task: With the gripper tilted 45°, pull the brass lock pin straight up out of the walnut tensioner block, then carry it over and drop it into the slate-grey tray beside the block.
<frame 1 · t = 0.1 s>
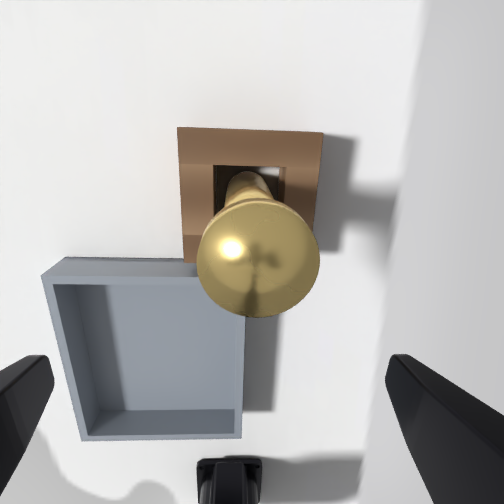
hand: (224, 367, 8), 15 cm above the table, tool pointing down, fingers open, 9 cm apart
lock pin: (247, 192, 21), resting in tensioner block
tray: (164, 342, 25), on the table
tensioner block: (247, 192, 21), on the table
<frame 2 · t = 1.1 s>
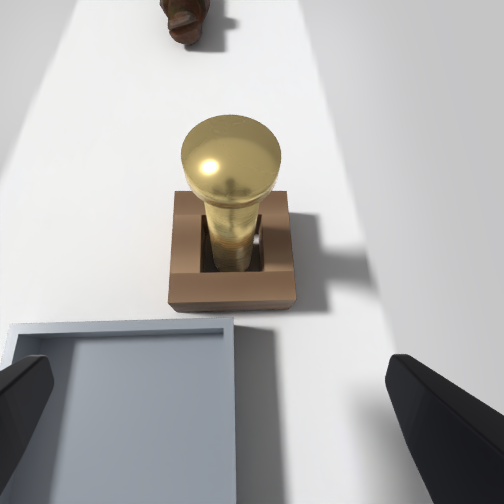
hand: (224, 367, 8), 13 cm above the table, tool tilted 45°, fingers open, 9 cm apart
bolt: (187, 8, 35), on the table
lock pin: (232, 258, 24), resting in tensioner block
tray: (126, 455, 18), on the table
tensioner block: (232, 257, 24), on the table
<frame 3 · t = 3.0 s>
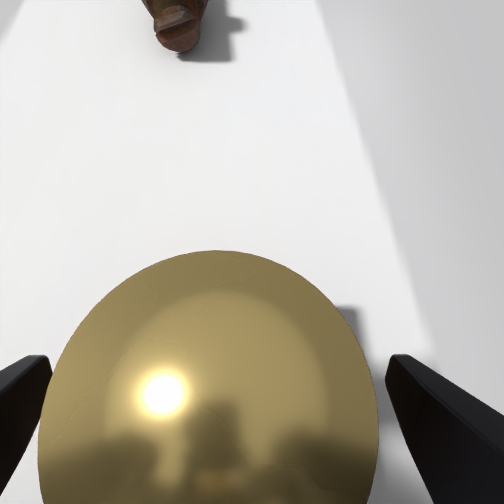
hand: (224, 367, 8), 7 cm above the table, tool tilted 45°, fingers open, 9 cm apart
bolt: (177, 6, 27), on the table
lock pin: (228, 388, 15), resting in tensioner block
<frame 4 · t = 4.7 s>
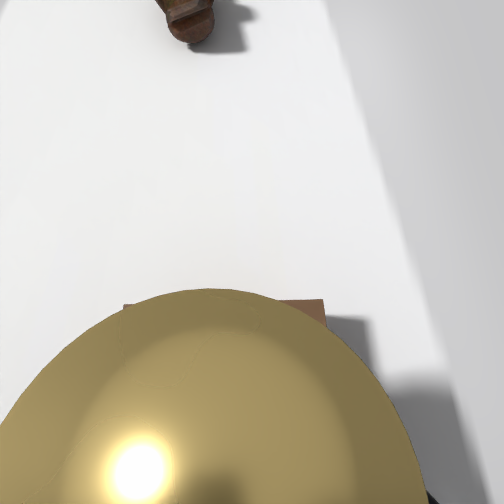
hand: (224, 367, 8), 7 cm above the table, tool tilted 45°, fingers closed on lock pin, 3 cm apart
lock pin: (227, 406, 14), resting in tensioner block, touching gripper
tensioner block: (227, 406, 14), on the table
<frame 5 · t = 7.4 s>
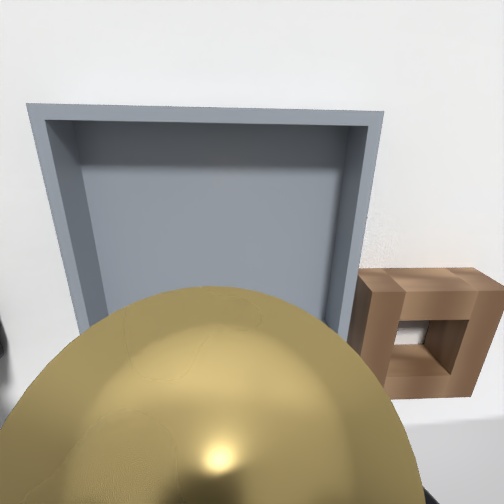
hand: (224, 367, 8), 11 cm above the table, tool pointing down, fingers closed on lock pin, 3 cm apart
lock pin: (226, 406, 14), point 7 cm above the table, tilted 45°, touching gripper
tray: (217, 231, 18), on the table
tensioner block: (401, 320, 21), on the table
when the fingers open (7 cm above the table, at t = 8.8 s): lock pin drops 1 cm and tips over, resting on tray.
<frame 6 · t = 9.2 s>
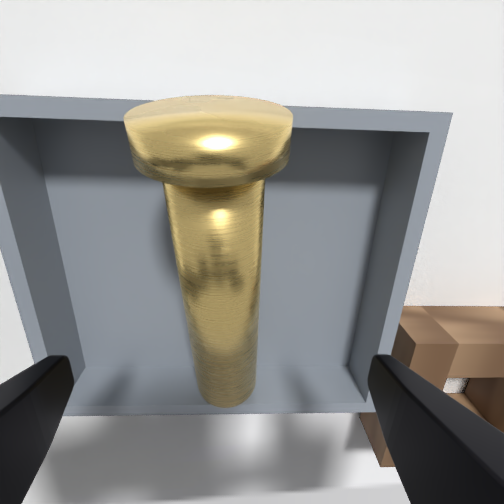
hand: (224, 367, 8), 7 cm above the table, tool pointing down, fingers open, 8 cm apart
lock pin: (226, 378, 15), point 2 cm above the table, tilted 75°, touching tray
tray: (220, 259, 15), on the table
tensioner block: (439, 366, 18), on the table
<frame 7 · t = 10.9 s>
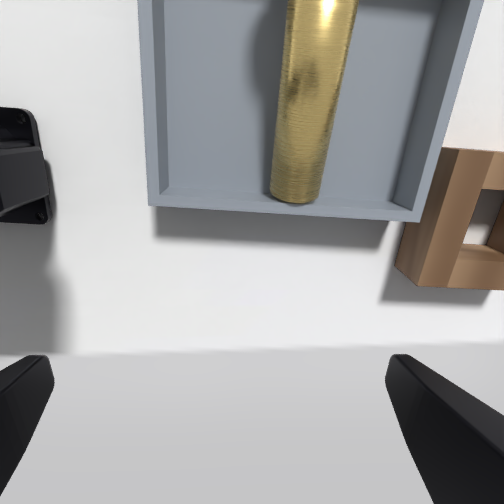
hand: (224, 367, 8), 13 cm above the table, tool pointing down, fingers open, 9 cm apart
lock pin: (294, 190, 17), point 2 cm above the table, tilted 75°, touching tray
tray: (293, 86, 17), on the table
tensioner block: (467, 213, 20), on the table
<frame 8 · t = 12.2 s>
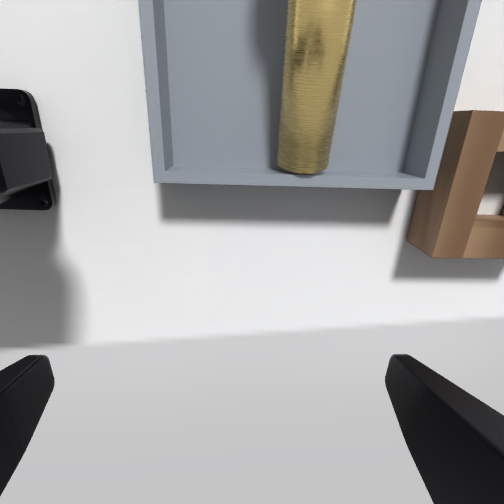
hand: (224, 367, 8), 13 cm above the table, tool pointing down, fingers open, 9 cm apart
lock pin: (302, 163, 17), point 2 cm above the table, tilted 75°, touching tray
tray: (297, 55, 17), on the table
tensioner block: (480, 182, 20), on the table
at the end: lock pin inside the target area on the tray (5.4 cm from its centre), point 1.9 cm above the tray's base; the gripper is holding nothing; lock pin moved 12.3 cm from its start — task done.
